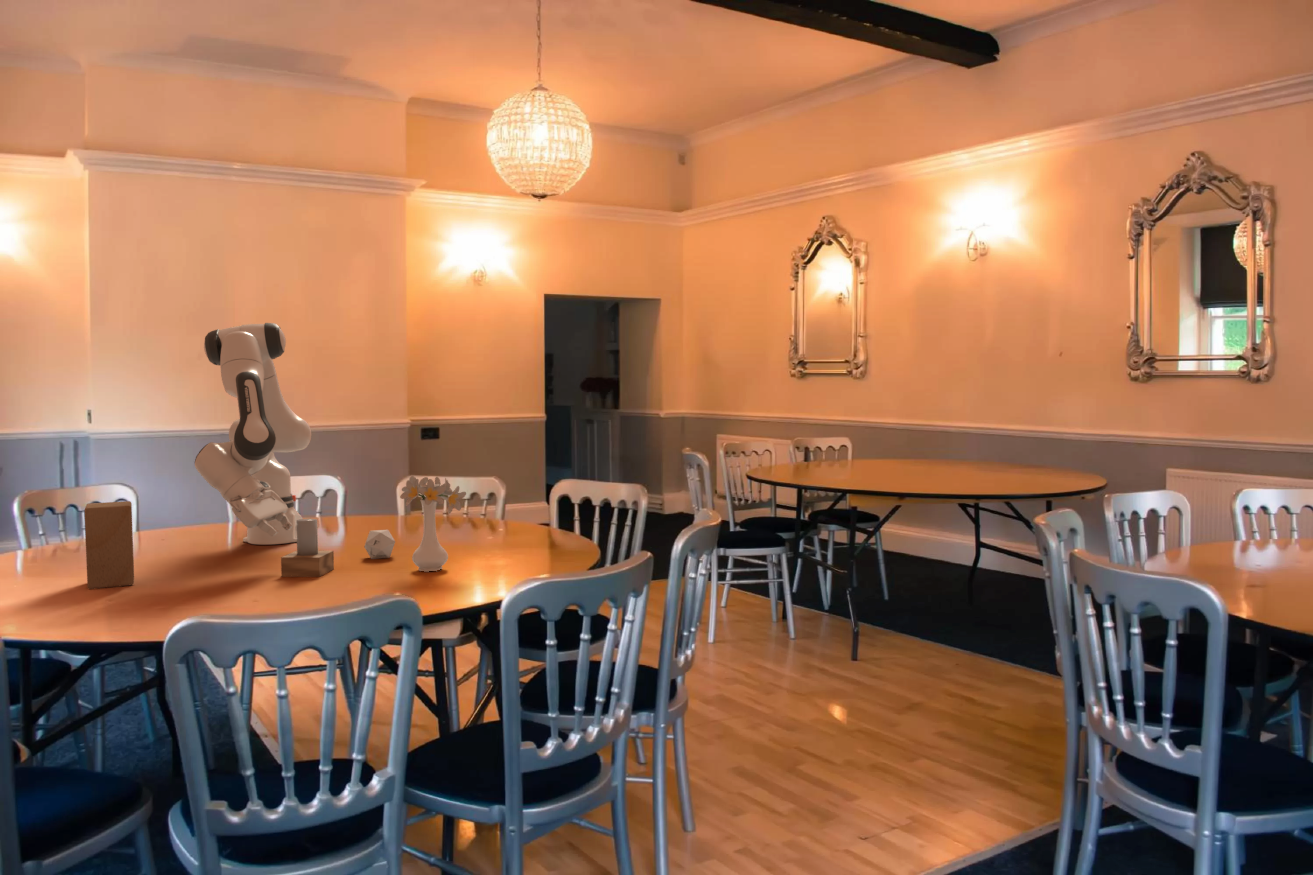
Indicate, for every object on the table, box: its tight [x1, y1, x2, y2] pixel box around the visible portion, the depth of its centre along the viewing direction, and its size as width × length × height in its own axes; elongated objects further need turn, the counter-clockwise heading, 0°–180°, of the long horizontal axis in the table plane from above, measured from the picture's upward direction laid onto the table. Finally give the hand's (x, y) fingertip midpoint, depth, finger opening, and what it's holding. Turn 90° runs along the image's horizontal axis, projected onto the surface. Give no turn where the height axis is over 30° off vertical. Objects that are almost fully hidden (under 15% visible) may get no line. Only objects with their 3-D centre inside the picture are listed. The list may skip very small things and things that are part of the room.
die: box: [364, 529, 396, 560], centre depth 280 cm, size 8×9×10 cm
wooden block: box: [83, 500, 135, 590], centre depth 245 cm, size 10×10×20 cm
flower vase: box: [399, 475, 467, 573], centre depth 262 cm, size 13×18×25 cm
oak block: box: [280, 550, 335, 578], centre depth 259 cm, size 10×10×5 cm
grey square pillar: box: [296, 518, 319, 556], centre depth 259 cm, size 5×5×9 cm
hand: (282, 531), depth 259 cm, fingers open, 8 cm apart
